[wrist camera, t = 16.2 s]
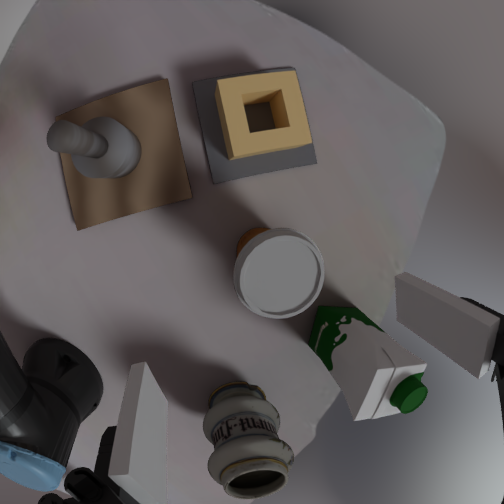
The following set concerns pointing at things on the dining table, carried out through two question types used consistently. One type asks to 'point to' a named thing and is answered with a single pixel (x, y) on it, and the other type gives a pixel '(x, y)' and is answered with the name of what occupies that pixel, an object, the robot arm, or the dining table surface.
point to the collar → (282, 106)
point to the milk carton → (367, 364)
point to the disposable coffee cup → (277, 272)
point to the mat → (257, 121)
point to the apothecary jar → (246, 442)
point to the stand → (121, 154)
